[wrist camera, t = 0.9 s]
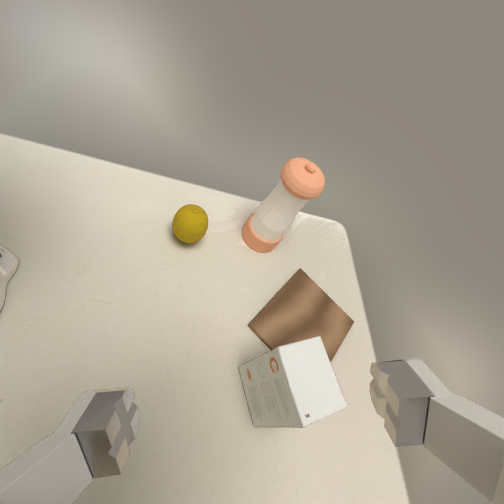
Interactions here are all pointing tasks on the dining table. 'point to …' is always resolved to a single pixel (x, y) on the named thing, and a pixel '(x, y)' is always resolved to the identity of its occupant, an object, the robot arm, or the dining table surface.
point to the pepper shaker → (283, 204)
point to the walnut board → (302, 316)
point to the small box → (292, 385)
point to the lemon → (190, 223)
